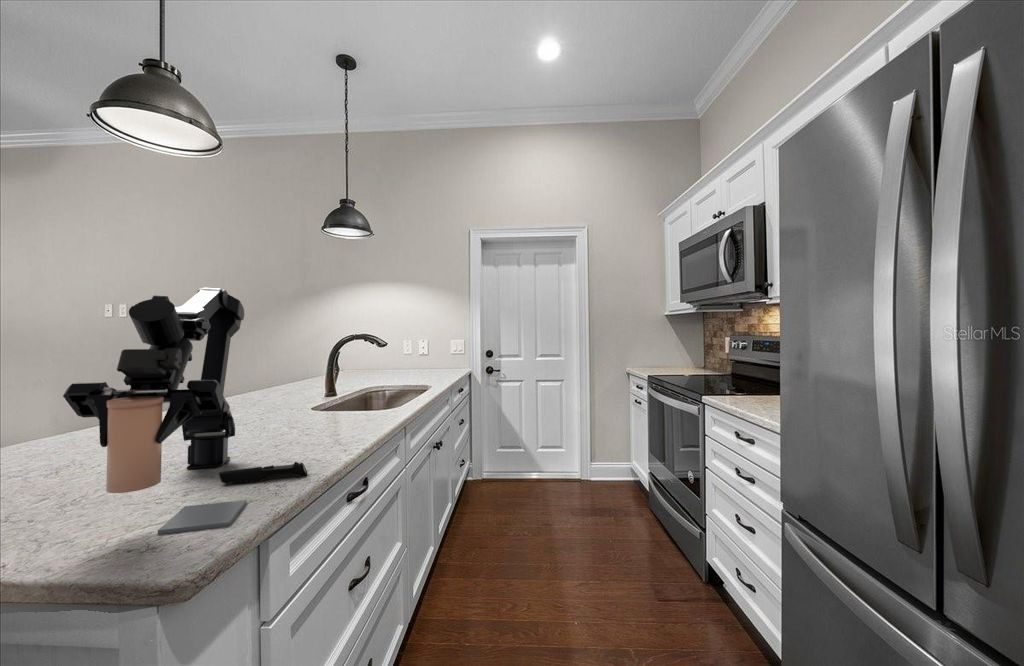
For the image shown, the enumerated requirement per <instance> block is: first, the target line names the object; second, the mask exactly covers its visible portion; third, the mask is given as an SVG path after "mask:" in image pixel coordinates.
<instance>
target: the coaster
mask: <svg viewBox="0 0 1024 666" xmlns="http://www.w3.org/2000/svg"><path fill="white" fill-rule="evenodd" d="M247 503H248V501H247V499H244V500H243V499H242V500H233V501H226V502H225V501H224V502H213V503H204V504H203V503H202V504H194V505H193V504H192V505H185V506H184V507H182V508H181V509H180V510H178V512H176V513H175V515H173V516H172V517H171V518H170V519H169V520H168V521H166V522H165V523H164V524H162V526H161V527H160V528H159V529H157V535H165V534H174V533H180V532H190V531H198V530H205V529H206V530H207V529H214V528H215V529H216V528H223V527H230V526H231V524H232V523H233V522H234V520H236V518H237V517H238V516H239V515H240V513H241V511H242V510H243V508H245V506H246V505H247Z"/></svg>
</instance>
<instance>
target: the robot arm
mask: <svg viewBox="0 0 1024 666" xmlns="http://www.w3.org/2000/svg"><path fill="white" fill-rule="evenodd" d="M128 315H129V317H130V320H131V322H132V323H133V325H134V328H135V329H136V332H137V334H138V335H139V338H140V341H141V342H142V343H143V344H147V345H150V346H149V348H148V349H147V348H145V349H144V348H143V349H142V348H139V349H137V348H134V349H133V348H132V349H131V348H130V349H129V348H127V349H122V350H121V352H120V356H119V360H118V363H117V368H116V371H117V372H120V373H122V374H123V375H125V377H124V378H123V382H124V384H125V386H129V387H130V388H129V389H115V388H113V387H110V386H109V385H108V383H107V382H106V381H101V382H100V381H95V382H91V381H90V382H89V381H88V382H73V383H71V384H70V385H69V386H68V387H67V389H66V390H65V392H64V393H63V395H62V397H63V398H64V399H65V401H66V402H67V403H68V405H69V407H71V409H72V410H73V412H74V413H75V414H76V416H78V417H80V418H97V420H98V423H99V425H98V426H99V427H98V428H99V444H100V446H101V448H107V428H108V408H107V407H106V406H107V401H108V400H112V399H118V398H126V397H138V396H162V397H164V403H163V404H169V406H168V409H167V411H166V413H165V415H164V417H163V418H162V424H161V426H160V428H159V430H158V433H157V437H156V442H157V443H162V444H163V442H164V441H165V440H167V439H168V438H169V436H171V435H172V434H173V433H174V432H175V431H177V430H178V429H179V428H180V427H181V429H182V435H183V442H184V441H186V442H188V441H190V445H188V446H187V465H188V466H186V470H192V469H194V470H195V469H206V467H209V468H217V466H220V467H222V466H223V465H225V464H226V463H227V462H228V461H230V460H231V456H229V455H228V454H229V453H228V452H229V449H228V448H229V438H231V437H235V436H236V424H235V420H234V417H233V414H232V412H231V410H230V409H231V407H230V404H229V403H228V401H227V400H226V398H225V396H224V391H225V384H226V383H225V382H226V375H227V368H228V360H229V355H230V347H231V346H230V345H231V340H232V339H231V338H233V336H234V335H235V334H236V333H237V332H238V331H240V328H241V325H242V324H241V323H242V321H243V320H244V317H245V308H244V306H243V304H242V302H241V300H239V299H238V298H236V297H234V296H232V295H230V294H229V293H228V292H227V290H226V289H223V288H216V287H215V288H213V287H212V288H211V287H202V288H198V290H197V292H196V294H195V295H194V296H192V297H191V298H190V299H189V300H187V302H185V303H184V304H183V305H181V306H175V304H174V303H173V302H171V301H170V298H169V296H168V295H152V297H151V299H146V300H143V301H139V302H138V303H136V304H134V305H132V306H131V307H130V308H129V309H128ZM205 336H207V337H206V344H205V349H204V350H205V351H204V357H203V364H202V369H201V375H200V379H196V380H195V379H191V380H189V381H188V382H187V384H186V389H185V388H183V389H179V386H180V384H183V383H184V382H185V376H184V373H185V369H186V367H187V365H188V363H189V362H192V361H193V354H192V352H193V348H194V345H193V343H192V342H195V341H196V342H201V341H202V340H203V339H204V338H205ZM227 460H228V461H227ZM226 461H227V462H226ZM225 462H226V463H225ZM224 463H225V464H224Z"/></svg>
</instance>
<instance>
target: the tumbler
mask: <svg viewBox="0 0 1024 666" xmlns="http://www.w3.org/2000/svg"><path fill="white" fill-rule="evenodd" d="M163 404H165V403H164V397H162V396H138V397H126V398H118V399H112V400H108V401H107V406H106V407H107V408H108V428H107V446H106V478H105V479H106V480H105V481H106V482H105V483H106V485H105V487H106V488H105V490H106V492H107V493H109V494H124V493H125V494H126V493H131V492H132V493H133V492H138V491H142V490H146V489H149V488H153V487H155V486H156V485H158V484H160V483H161V481H162V444H163V442H162V443H157V442H156V437H157V433H158V430H159V428H160V426H161V424H162V421H163Z"/></svg>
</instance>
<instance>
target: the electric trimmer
mask: <svg viewBox="0 0 1024 666" xmlns="http://www.w3.org/2000/svg"><path fill="white" fill-rule="evenodd" d="M218 476H219V478H220V481H221V483H223V484H235V483H237V484H239V483H260V482H261V481H264V480H274V479H284V478H285V479H286V478H292V477H300V478H304V477H307V476H308V470H307V468H306V467H305V464H304V463H303V462H297V461H294V463H292V464H286V465H275V466H274V465H268V466H263V467H262V466H257V467H248V468H242V469H235V470H234V469H233V470H224V471H219V473H218Z"/></svg>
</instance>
